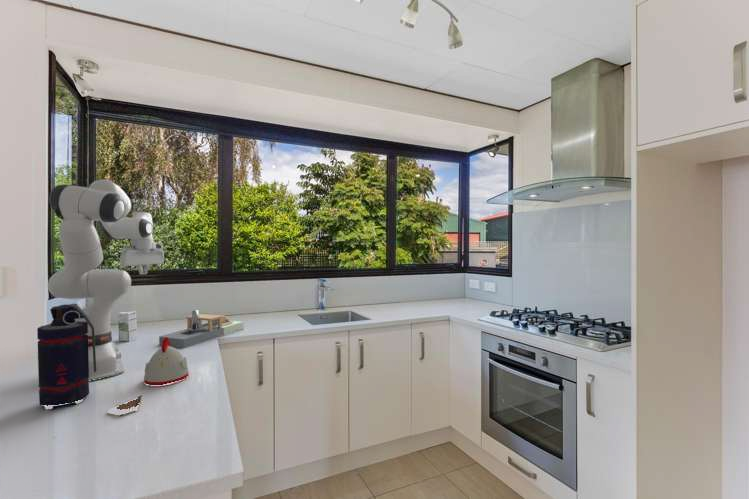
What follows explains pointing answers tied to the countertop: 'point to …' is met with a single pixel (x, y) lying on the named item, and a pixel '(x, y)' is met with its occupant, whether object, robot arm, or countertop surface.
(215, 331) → the tunnel deck
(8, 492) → the countertop surface
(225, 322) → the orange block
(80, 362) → the grenade
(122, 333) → the syrup box
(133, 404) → the shard
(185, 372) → the grey dome
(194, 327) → the slider
